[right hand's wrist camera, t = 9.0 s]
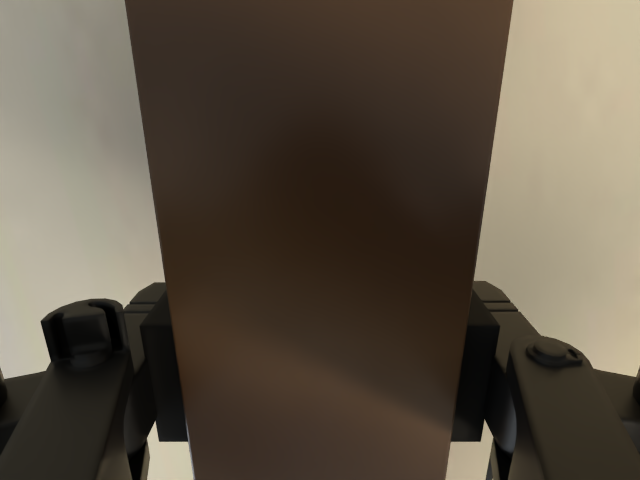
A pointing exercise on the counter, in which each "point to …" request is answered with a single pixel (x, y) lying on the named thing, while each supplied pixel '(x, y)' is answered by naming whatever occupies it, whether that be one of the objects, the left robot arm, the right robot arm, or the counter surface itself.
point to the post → (319, 222)
